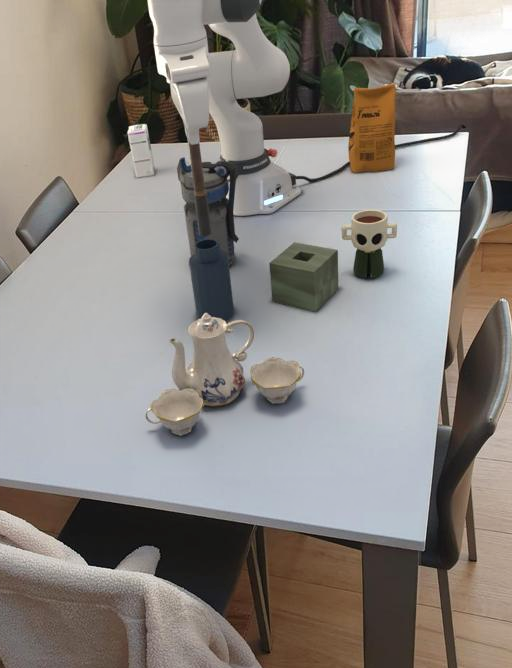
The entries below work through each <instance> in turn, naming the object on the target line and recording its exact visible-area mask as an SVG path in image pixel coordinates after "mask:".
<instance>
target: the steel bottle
mask: <svg viewBox="0 0 512 668" xmlns="http://www.w3.org/2000/svg"><path fill="white" fill-rule="evenodd" d="M194 250H195V254H193V255H192V256H191V255H190V257H189V258H188V265H189V272H190V279H191V284H192V285H191V286H192V293H193V300H194V306H195V314H196V318H197V320H198V319H201V318H202V316H203V315H204V313H208V314H209V315H210V316H211V317H216V318H221V319H222V320H224V321H225V322H226V323H227V322H229V320H231V319H232V318H233V317H234V315H235V308H234V299H233V297H234V296H233V289H232V281H231V280H232V279H231V272H230V266H229V261H228V255H227V253H226V252H224V251H222V250H220V246H219V242H218V240H215V239H203V240H200V241H198V242H196V243H195V245H194Z"/></svg>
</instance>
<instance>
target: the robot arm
mask: <svg viewBox="0 0 512 668" xmlns="http://www.w3.org/2000/svg"><path fill="white" fill-rule="evenodd" d="M261 4H262V0H147V7H148V13H149V19H150V21H151V23H152V26H153V48H154V54H155V61H156V68H157V73H158V75H160V76H164V77H165V78H166V83H167V84H169V88H170V95H171V100H172V103H173V104H174V106H175V108H176V110H177V112H178V114H179V116H180V118H181V119H182V122H183V126H184V132H185V136H186V137H187V131H186V127H187V129H188V139H189V142H190V144H192V145H193V144H198V143H199V144H200V142H201V139H200V129H204V128H207V127H208V126H209V123H210V116H211V118H212V120H213V122H214V124H215V126H216V130H217V135H218V140H219V147H220V156H219V161H224V162H229V163H230V164H232V165H233V166H234V167H235V170H236V185H235V197H234V209H233V215H234V216H239V217H241V216H242V217H243V216H244V217H245V216H254V215H270V214H273V213H275V212H277V210H279V209H280V208H282V207H284V206H285V205H286V204H288V203H289V202H291V201H292V200H294V199H295V198H297V197H298V196H300V195H301V194H302V189H301V188H300V187H299V186H297V180H304V181H307V182H308V183H316V182H320V181H322V180H326V179H328V178H330V177H332V176H334V175H337V174H339V173H341V172H342V171H343V170H345V169H346V168H348V166H350V161H348V162H346V163H345V164H343V165H342V166H341V167H339V168H337V169H335V170H333V171H331V172H329V173H328V174H325V175H322V176H319V177H315V178H310V177H308V176H305V175H296V174H294V173H292V172H289V171H287V169H285V168H284V167H281V166H280V165H279V164H276V163H274V162H273V161H271V159H270V157H271V158H276V157H277V156H278V150H277V149H275V148H269V149H267V148H265V142H264V141H265V140H264V128H263V127H264V126H263V122H262V120H261V119H260V117H259V116H258V115H256V114H255V113H253V112H252V111H249V110H246V109H245V108H243V107H242V106H241V105H240V104H239V103H238V101H237V100H240V99H252V98H262V97H263V98H264V97H267V96H271V95H274V94H278V93H280V92H282V91H283V90H284V89H285V87H286V86H287V84H288V82H289V80H290V75H291V65H290V62H289V59H288V57H287V55H286V54H285V52H284V51H283V50H281V48H279V47H277V46H276V45H275V44H274V43H273V42H271V41H270V40H269V39H268V38H267V37H266V35H265V33H264V32H263V30H262V28H261V26H260V23H259V20H258V18H257V12H258V11H259V9H260V8H261ZM206 25H208V26H209V28H210V29H211V30H212V31H213V32H214V33H216V34H217V35H220V36H222V37H224V38H226V39H228V40H230V41H231V42H232V44H233V46H234V47H235V49H234V50H225V51H215V52H209V44H208V36H207V35H208V34H207V30H206V27H205V26H206ZM466 128H467V127H466V125H465V124H463V123H461V124H459V125H458V126H457V128H456V129H455V130H454V132H451V133H449V134H446V135H441V136H436V137H430V138H424V139H419V140H413V141H408V142H403V143H398V144H395V149H399V148H401V147H407V146H408V147H409V146H413V145H418V144H423V143H424V144H425V143H429V142H436V141H441V140H442V141H443V140H446V139H450V138H452V137H455V136H456V135H457V134H458V133H459V132H460V131H461V129H466ZM188 139H187V140H188ZM227 179H228V184H229V187H230V175H229V176H228V178H227ZM226 198H227V199H228V200H229V191H228V194H227V196H226Z"/></svg>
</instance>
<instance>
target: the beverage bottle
mask: <svg viewBox="0 0 512 668" xmlns="http://www.w3.org/2000/svg"><path fill="white" fill-rule="evenodd" d="M202 168H203V176H204V184H205V190H206V193H207V200H208V208H209V216H210V224H211V234H210V235H208V236H200V235H199V230H198V222H197V215H196V207H195V200H194V184H193V176H192V169H191V164H189V165H187V163H186V157H184V156H183V157H181V158H179V161H178V162H177V167H176V172H177V179H178V181H179V182H180V189H181V197H182V199H183V201H184V202H185V204H184V205H183V212H184V217H185V218H184V219H185V226H186V234H187V239H188V247H189V254H190V257H191V256H192V255H193V254H195V250H194V245H195V243H196V242H198V241H200V240H203V239H215V240H218V242H219V246H220V250H222V251H224V252H226V253H227V255H228V261H229V267H230V266H231V265H232V264H233V262H234V260H235V258H236V253H235V243H236V244H237V243H238V242H239V239H240V238H239V237H238V235H236V228H235V227H236V226H235V215H233V209H234V197H235V185H236V170H235V167H234V166H233V165H232V164H230V163H229V162H224V161H220V160H218V161H217V162H215V163H212V161H202ZM229 175H230V187H229V184H228V179H227V178H228V176H229ZM228 191H229V200H228V199H227V198H226V196H227V194H228Z"/></svg>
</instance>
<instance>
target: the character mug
mask: <svg viewBox="0 0 512 668" xmlns="http://www.w3.org/2000/svg"><path fill="white" fill-rule="evenodd" d="M350 219H351V220H350V224H345V225H342V226H341V239H342V240H344V241H351V243H352V245H353V247H354V248H355V249H356V250H355V255H354V261H353V269H352V270H353V273H354V275H355V276H357V277H360V278H364V279H365V278H367V275H368V274H370V278H375V277H376V278H377V277H379V276H380V275H382V274H383V273H384V271H385V264H384V256H383V249H382V248H384V247H385V246H386V243H387V241H388V239H395V238H397V235H398V224H397V223H395V222H388V220H389V219H388V214H387V213H386V212H385V211H382V210H380V209H372V208H371V209H363V210H362V209H361V210H359V211H356V212H355V213H353V214H352V216H351V218H350ZM388 229H391V233H388ZM348 231H350V235H348V233H347V232H348Z"/></svg>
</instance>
